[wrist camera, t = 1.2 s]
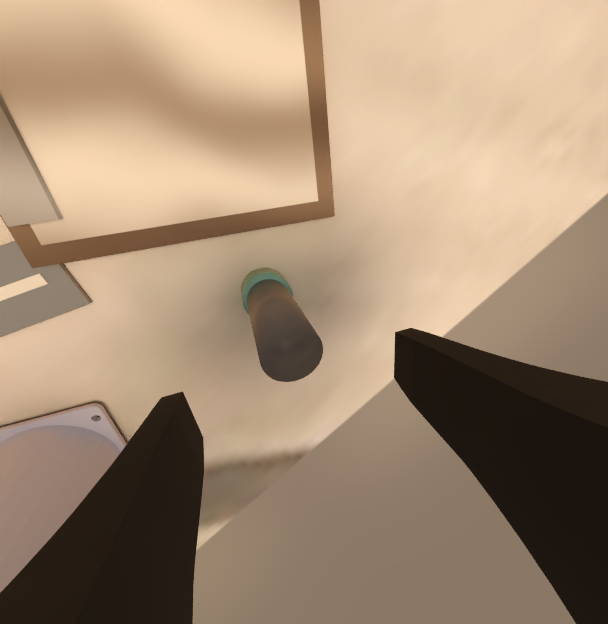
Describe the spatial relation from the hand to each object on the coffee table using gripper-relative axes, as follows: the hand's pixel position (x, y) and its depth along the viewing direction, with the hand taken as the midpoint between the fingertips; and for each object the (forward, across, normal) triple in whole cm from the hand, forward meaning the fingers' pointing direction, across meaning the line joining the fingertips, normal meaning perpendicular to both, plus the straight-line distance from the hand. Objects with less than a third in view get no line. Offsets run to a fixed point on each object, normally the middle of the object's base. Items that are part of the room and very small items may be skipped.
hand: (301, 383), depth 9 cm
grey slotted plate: (+10, +13, -3) cm, 17 cm away
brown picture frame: (+10, +3, -10) cm, 14 cm away
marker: (+10, 0, 0) cm, 10 cm away
